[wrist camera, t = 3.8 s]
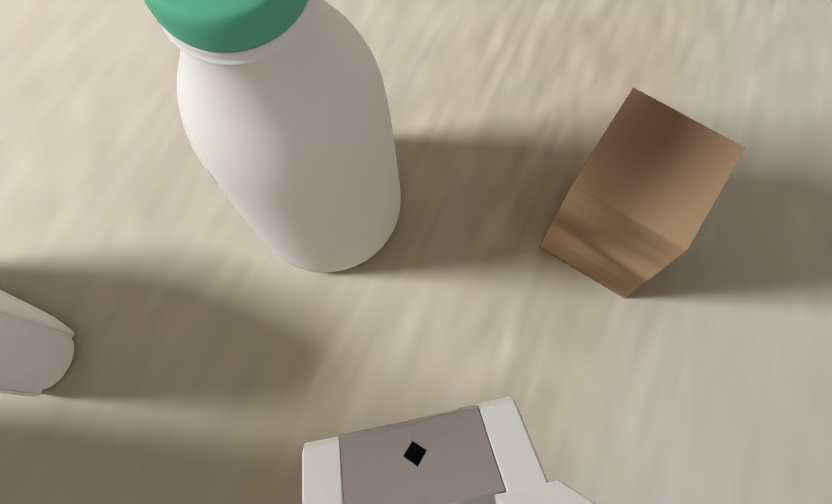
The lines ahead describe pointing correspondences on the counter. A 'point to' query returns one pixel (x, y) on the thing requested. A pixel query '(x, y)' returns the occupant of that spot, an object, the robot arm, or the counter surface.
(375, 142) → the milk bottle
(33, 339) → the photo printer
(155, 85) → the counter surface
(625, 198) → the walnut block
